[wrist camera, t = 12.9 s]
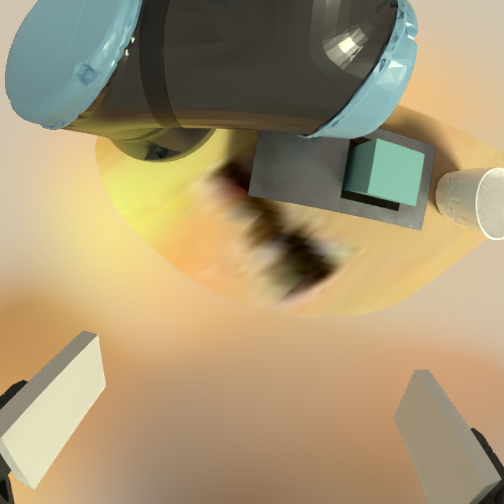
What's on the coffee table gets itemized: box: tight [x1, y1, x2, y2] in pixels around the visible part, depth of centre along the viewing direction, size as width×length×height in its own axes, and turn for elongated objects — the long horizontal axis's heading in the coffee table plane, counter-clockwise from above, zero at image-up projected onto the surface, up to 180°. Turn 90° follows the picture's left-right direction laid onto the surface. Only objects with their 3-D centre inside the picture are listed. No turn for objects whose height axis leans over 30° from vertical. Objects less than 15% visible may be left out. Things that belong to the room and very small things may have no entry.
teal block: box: [342, 139, 425, 206], centre depth 29 cm, size 5×5×10 cm
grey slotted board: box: [248, 128, 435, 231], centre depth 32 cm, size 20×10×4 cm, turn 80°
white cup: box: [435, 167, 504, 240], centre depth 29 cm, size 8×8×10 cm
